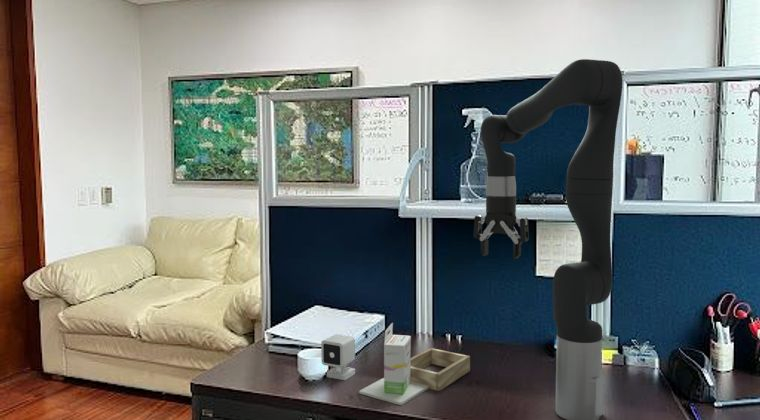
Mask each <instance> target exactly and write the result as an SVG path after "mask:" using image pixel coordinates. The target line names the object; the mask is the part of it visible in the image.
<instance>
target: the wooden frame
mask: <svg viewBox="0 0 760 420" xmlns="http://www.w3.org/2000/svg"><path fill="white" fill-rule="evenodd" d="M410 365H411V377H410V379H411V380H410V381H412V382H415V383H419V384H423V385H427V386H429V388H428V389H431V390H433V391H438V392H440V391H442V390H443V389H445V388H447V387H448V386H450V384H451V385H452V383H454V382H456V381H457V380H458V379H460V378H461V377H463V376H465V375H466V374H468V373H469V372H470V371H471V355H468V354H467V355H466V354H463V353H457V352H451V351H448V350H442V349H437V348H433V347H428V349H425V350H423V351H422V352H419V353H418V354H416V355H414V356H411V357H410ZM431 365H436V366H439V367H445V368H443V369H441V370H440V371H438V372H436V371H432V370H428V369H425V368H426V367H429V366H431Z"/></svg>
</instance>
